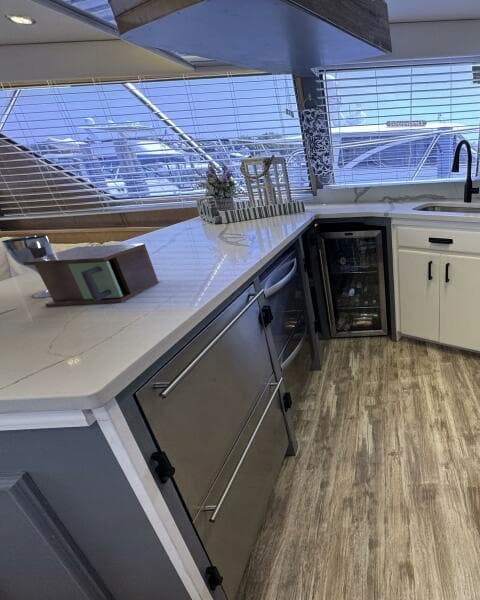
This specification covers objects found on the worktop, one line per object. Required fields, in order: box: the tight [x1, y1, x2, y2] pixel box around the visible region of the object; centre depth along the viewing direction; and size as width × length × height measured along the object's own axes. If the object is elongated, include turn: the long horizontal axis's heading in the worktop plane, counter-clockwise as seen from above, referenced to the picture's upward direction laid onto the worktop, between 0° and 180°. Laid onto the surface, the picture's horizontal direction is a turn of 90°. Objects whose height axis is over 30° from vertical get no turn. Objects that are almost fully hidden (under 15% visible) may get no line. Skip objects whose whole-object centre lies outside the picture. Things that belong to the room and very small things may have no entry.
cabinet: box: [23, 243, 159, 308], centre depth 84 cm, size 18×15×11 cm
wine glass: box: [1, 234, 54, 299], centre depth 85 cm, size 8×8×15 cm
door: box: [68, 261, 123, 301], centre depth 76 cm, size 9×5×9 cm, turn 94°
